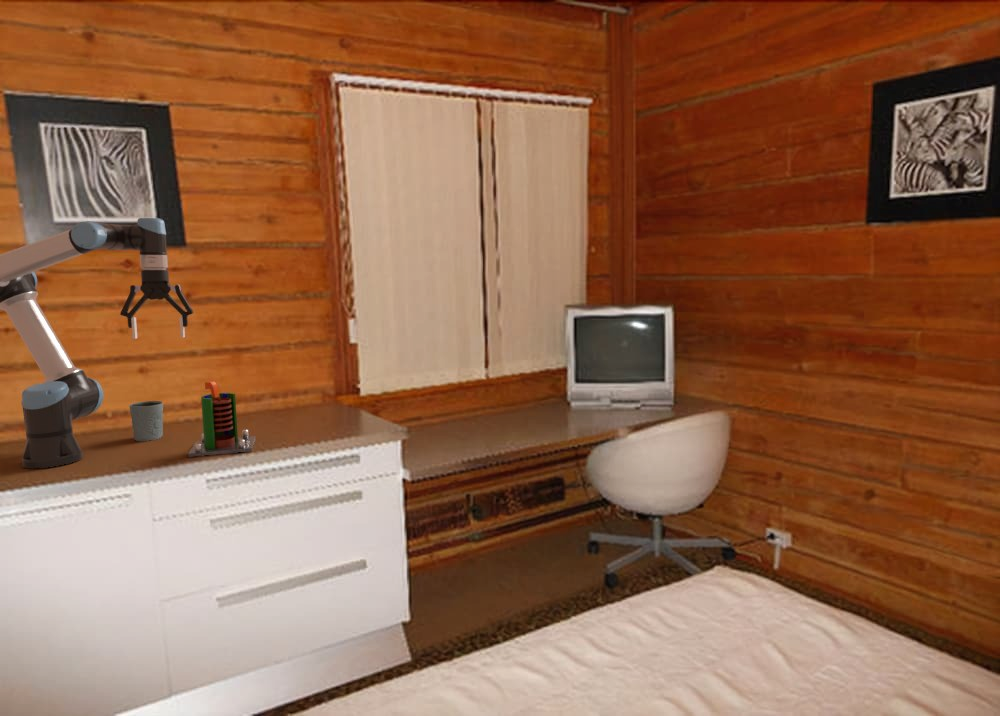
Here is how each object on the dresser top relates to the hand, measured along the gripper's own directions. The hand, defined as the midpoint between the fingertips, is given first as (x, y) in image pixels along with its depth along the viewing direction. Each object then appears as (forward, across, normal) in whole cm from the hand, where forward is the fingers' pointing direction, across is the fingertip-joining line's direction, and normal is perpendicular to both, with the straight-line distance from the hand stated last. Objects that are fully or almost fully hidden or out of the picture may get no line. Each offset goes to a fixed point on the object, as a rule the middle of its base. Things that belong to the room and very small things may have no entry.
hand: (159, 338), depth 214 cm
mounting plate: (+35, +18, -7) cm, 40 cm away
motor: (+34, +17, -7) cm, 38 cm away
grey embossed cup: (+36, -8, +17) cm, 41 cm away
